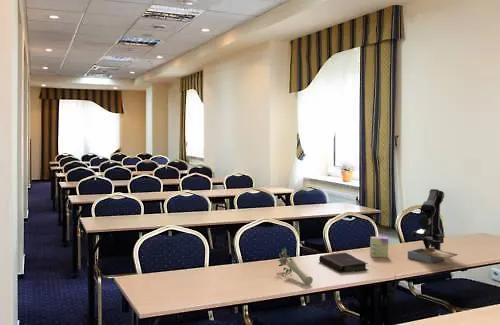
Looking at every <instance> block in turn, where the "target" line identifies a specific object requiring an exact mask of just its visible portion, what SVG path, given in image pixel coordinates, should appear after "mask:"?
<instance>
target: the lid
mask: <svg viewBox="0 0 500 325" xmlns="http://www.w3.org/2000/svg"><path fill="white" fill-rule="evenodd" d="M423 249H424V252H420V253H421V254H425V255H430V256H434V257H439V258H443V259H444V260H445V259H448V258H452V257H457V256H458V253H453V252H450V251H449V252H448V251H443V250H441V249H440V250H441V251H440V250H435V247H431V246H430V247H429V248H423Z"/></svg>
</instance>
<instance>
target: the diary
mask: <svg viewBox="0 0 500 325" xmlns="http://www.w3.org/2000/svg"><path fill="white" fill-rule="evenodd" d="M318 260H319V263H320V264H322V265H324V266H327V267H328V268H330V269H332V270H334V271H336V272H338V273H339V274H342V273H349V272H355V273H356V272H366V271H369V269H368V268H366V267H367V265H368V264H369V263H368V262H366V261H364V260H361V259H358V258H356V257H355V256H353V255H352V254H349V253H347V252H336V253H331V254H324V255H320V256H319V258H318Z"/></svg>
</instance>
